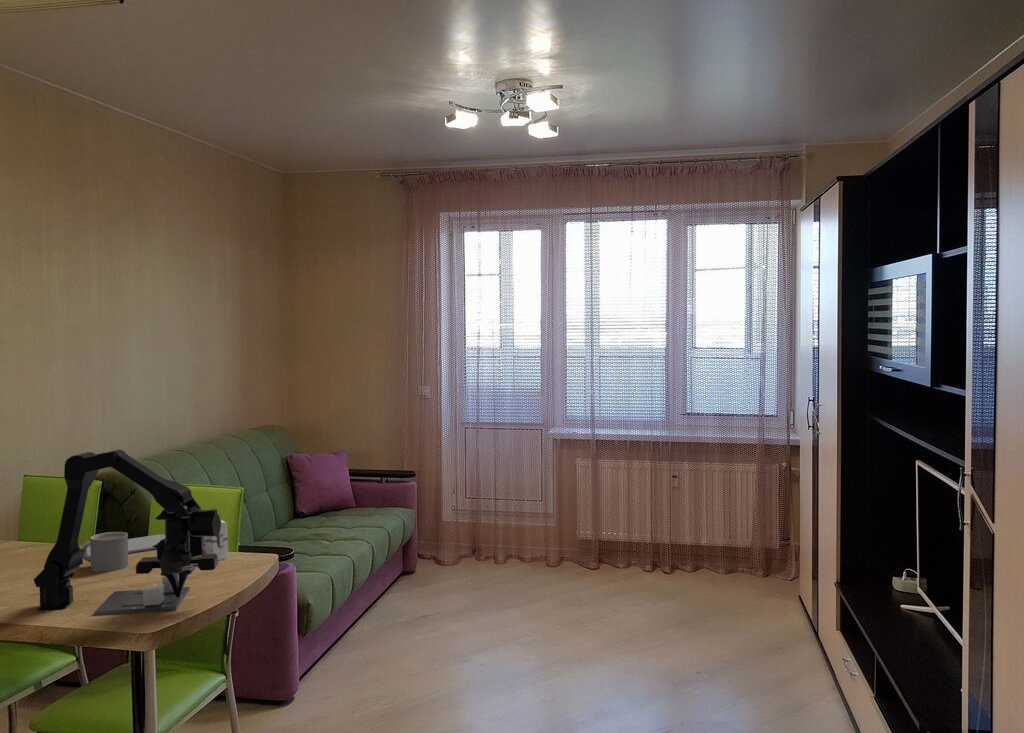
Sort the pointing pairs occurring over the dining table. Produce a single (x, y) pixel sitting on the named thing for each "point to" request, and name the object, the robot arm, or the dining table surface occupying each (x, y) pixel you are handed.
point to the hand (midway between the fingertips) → (178, 597)
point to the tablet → (140, 543)
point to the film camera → (194, 546)
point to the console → (138, 602)
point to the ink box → (216, 543)
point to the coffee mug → (107, 551)
